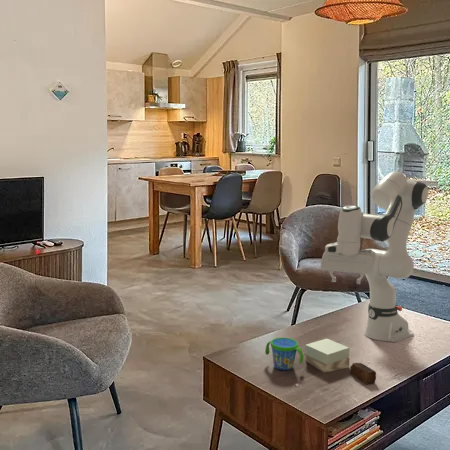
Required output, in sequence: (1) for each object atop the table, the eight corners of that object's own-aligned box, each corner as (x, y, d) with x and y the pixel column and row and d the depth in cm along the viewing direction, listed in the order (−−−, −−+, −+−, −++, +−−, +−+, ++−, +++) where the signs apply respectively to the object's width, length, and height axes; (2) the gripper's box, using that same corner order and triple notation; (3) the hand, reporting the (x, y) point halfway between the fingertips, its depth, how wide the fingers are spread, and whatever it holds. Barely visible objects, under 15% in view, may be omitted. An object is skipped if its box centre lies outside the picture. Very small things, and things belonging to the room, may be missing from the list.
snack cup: (308, 368, 214) (308, 343, 212) (292, 377, 206) (293, 351, 204) (275, 357, 224) (275, 333, 222) (259, 365, 216) (260, 341, 214)
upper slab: (326, 347, 225) (327, 338, 225) (348, 357, 216) (349, 347, 215) (305, 354, 219) (305, 344, 218) (327, 364, 209) (327, 354, 208)
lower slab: (330, 357, 226) (330, 347, 225) (348, 368, 215) (349, 358, 215) (305, 362, 221) (306, 352, 220) (323, 373, 210) (324, 364, 209)
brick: (376, 383, 202) (376, 371, 201) (367, 385, 200) (367, 373, 199) (358, 372, 211) (359, 360, 210) (349, 373, 210) (350, 362, 209)
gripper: (376, 248, 213) (373, 283, 215) (322, 244, 218) (320, 278, 220) (375, 251, 207) (373, 287, 209) (321, 247, 212) (319, 282, 214)
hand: (346, 282), depth 215 cm, fingers open, 8 cm apart
